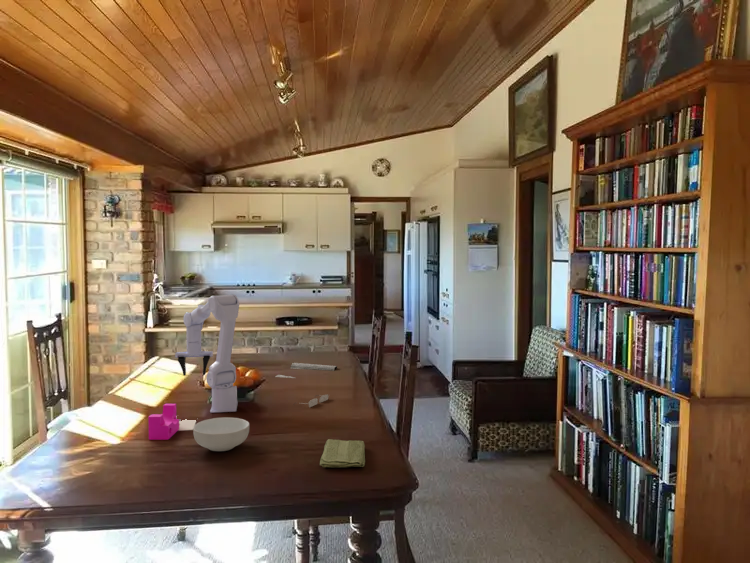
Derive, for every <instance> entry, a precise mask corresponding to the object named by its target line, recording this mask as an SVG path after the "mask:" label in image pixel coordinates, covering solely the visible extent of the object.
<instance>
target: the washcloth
mask: <svg viewBox="0 0 750 563" xmlns="http://www.w3.org/2000/svg"><path fill="white" fill-rule="evenodd" d="M365 450H366V445H365V442H364V441H363V440H356V439H355V440H341V439H332V438H331V439H330V438H329V439H327V440H326V442H325V444H324V448H323V450H322V455H321V457H320V460H319V466H322V468H351V467H355V468H356V467H358V468H359V467H360V468H364V467H365V465H366V458H365V457H366V456H365V455H366V452H365Z"/></svg>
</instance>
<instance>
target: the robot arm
mask: <svg viewBox="0 0 750 563" xmlns="http://www.w3.org/2000/svg"><path fill="white" fill-rule="evenodd" d="M239 309H240V301H239V298H238V297H237V295H236V294H233V293H231V294H224V295H223V294H221V295H211V296H210V297H208V301H207V302H206V303H205V304H198V305H197V307H196V308H195V309H193V310H192V311H191V312H185V313H184V315H183V324H184V326H185V327H186V328H185V330H186V351H178V352H175V353H174V358H175V359H177V362H178V364H179V366H180V368H181V370H182V374H183V376H186V375H187V370H186V369H187V368H186V359H187V358H202V363H203V364H202V365H203V366H202V367H203V369H202V375H203V376H205V375H206V383H207V385H208V386H209V387H210V388H211V408H210V410H209V412H210V414H212V413H228V412H229V413H231V412H233V413H234V412H237V409H238V403H239V402H238V388H237V385H234V383H235V382H236V380H237V372H236V369H237V368H236V366H235V364H233V363H232V362H231V359H232V358H231V357H232V349H233V346H234V345H233V344H234V337H235V331H236V330H235V329H236V321H237V318H238V316H239ZM211 314H212V315H213V317H214V319H215V320H217V321H220V327H219V335H218V340H217V341H218V343H217V351H216V355H215V356H216V357H215V358H216V359H215V361H214V362H213V363H212V364H211V365H209V368H208V371H207V367H208V364H209V361H210V358H212V357H213V356H214V351H213V350H212V351H208V350H207V351H206V350H202V330H203V325H204V324H205V323H204V322H205V321H206V320H207V319H208V318H210V317H211ZM206 371H207V374H206Z"/></svg>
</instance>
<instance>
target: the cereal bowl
mask: <svg viewBox="0 0 750 563" xmlns="http://www.w3.org/2000/svg"><path fill="white" fill-rule="evenodd" d="M192 431H193V433H192V434H193V437H194V441H195V442H196V443H197V444H198V445H199V446H201V447H203V448H205V449H208V450H210V451H211V452H226V451H230V450H232V449H234V448H235V447H237V446H240V445H241V444H242V443H244V442H245V441H246V439H247V438H248V436H249V433H250V422H249V421H248V420H246V419H243V418H239V417H227V416H226V417H213V418H209V419H204V420H201V421H198V422H196V423H195V425H194V427H193V430H192Z"/></svg>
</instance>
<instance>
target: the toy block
mask: <svg viewBox="0 0 750 563" xmlns="http://www.w3.org/2000/svg"><path fill="white" fill-rule="evenodd" d="M177 416H178V415H177V403H165V404H163V405H162V413H160V414H159V413H155V414H154V413H153V414H150V415H149V416H148V417H147V418H148V423H147V424H148V440H150V441H151V440H153V441H154V440H161V441H163V440H165V441H166V440H169V439H171V438H172V437H173V436H174V435H175V434H176V433H177V432H179V431H178V430H179V419H177Z"/></svg>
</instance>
